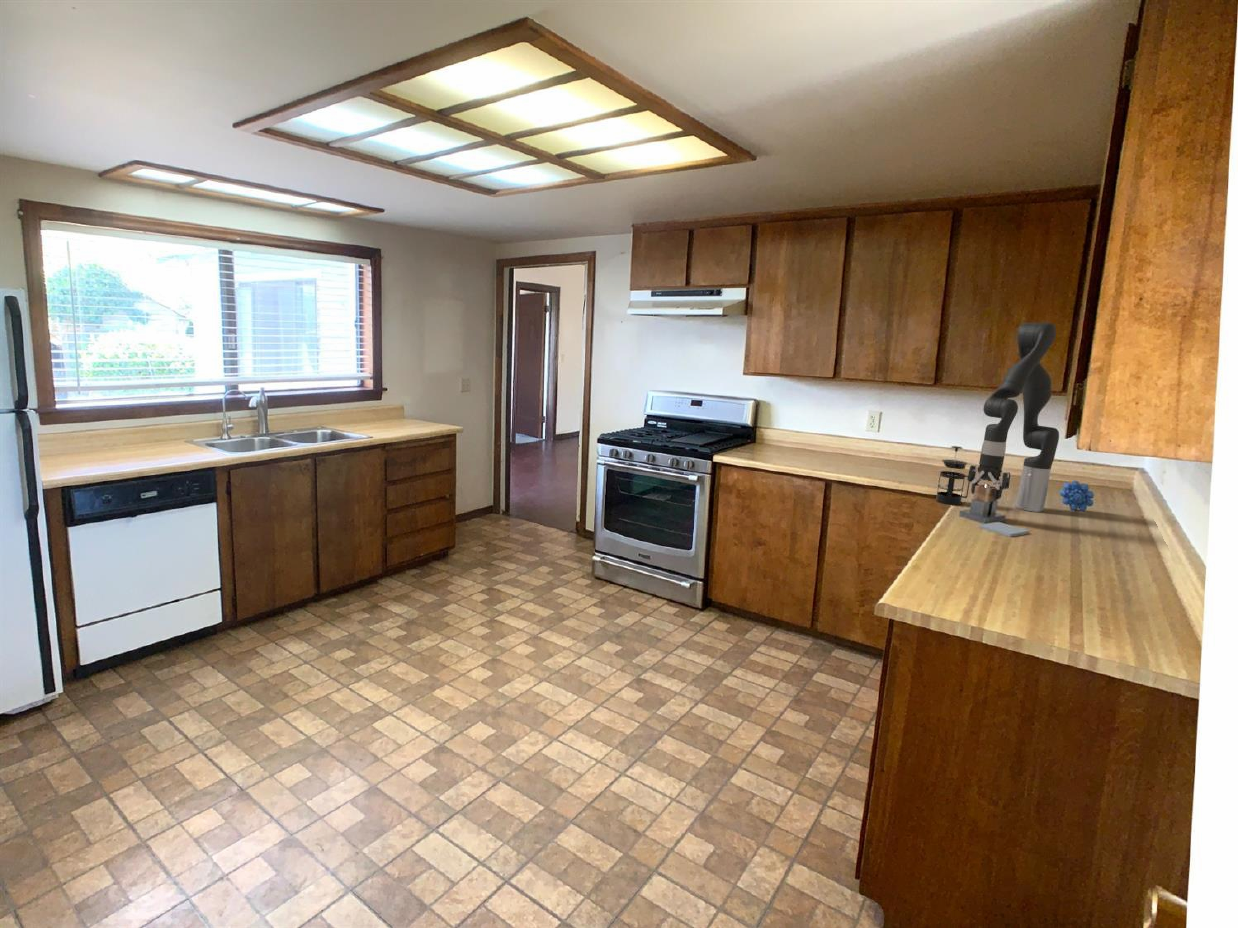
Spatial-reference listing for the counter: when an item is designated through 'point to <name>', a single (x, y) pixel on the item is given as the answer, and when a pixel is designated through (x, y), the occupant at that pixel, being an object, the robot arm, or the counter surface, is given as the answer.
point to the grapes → (1077, 495)
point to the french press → (952, 482)
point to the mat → (1004, 529)
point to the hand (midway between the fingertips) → (985, 496)
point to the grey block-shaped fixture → (983, 511)
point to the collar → (984, 493)
